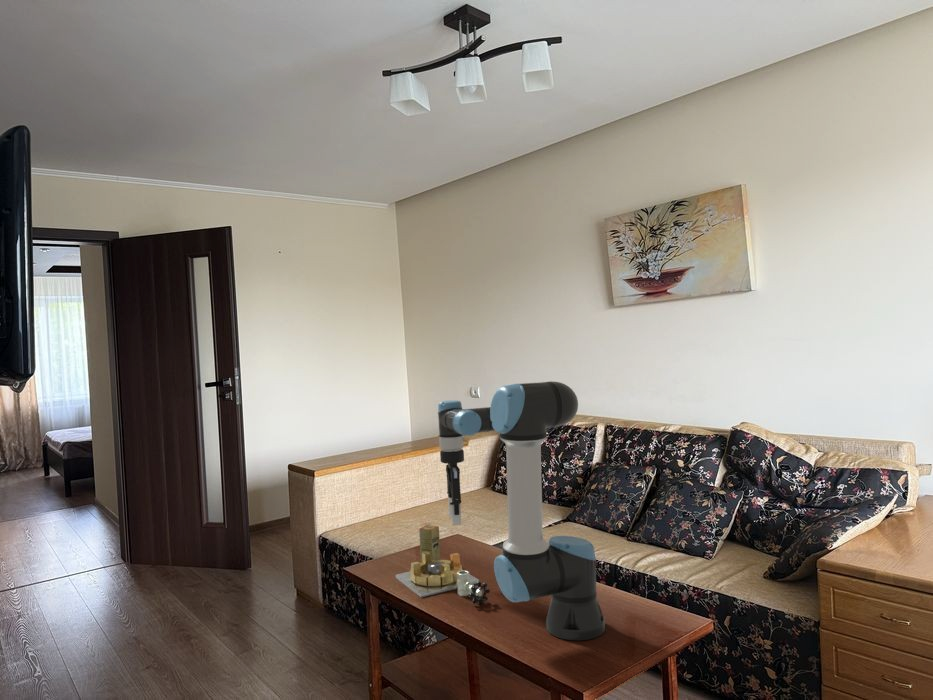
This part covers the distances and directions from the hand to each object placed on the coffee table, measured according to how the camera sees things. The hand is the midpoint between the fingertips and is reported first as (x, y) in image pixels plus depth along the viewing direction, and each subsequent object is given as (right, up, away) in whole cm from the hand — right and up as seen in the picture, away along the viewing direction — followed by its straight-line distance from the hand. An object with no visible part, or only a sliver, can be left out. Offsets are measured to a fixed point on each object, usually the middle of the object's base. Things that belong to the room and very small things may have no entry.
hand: (455, 521), depth 204 cm
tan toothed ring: (-6, -18, +2) cm, 19 cm away
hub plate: (-6, -19, +2) cm, 20 cm away
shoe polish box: (-9, -20, +19) cm, 29 cm away
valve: (+5, -19, -14) cm, 24 cm away
